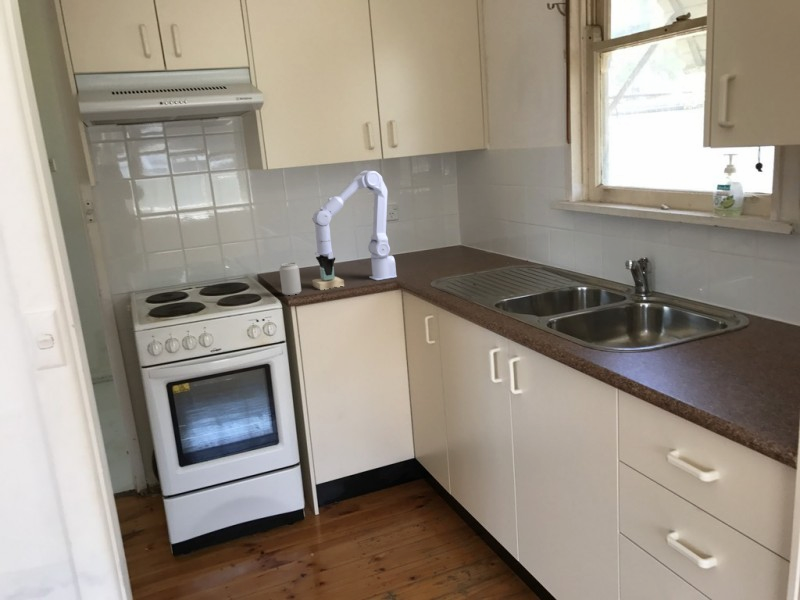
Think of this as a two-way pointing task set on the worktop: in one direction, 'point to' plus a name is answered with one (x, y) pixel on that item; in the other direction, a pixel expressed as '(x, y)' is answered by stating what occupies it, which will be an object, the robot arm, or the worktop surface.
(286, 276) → the can
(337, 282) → the beige square slab
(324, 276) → the tin
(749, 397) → the worktop surface
